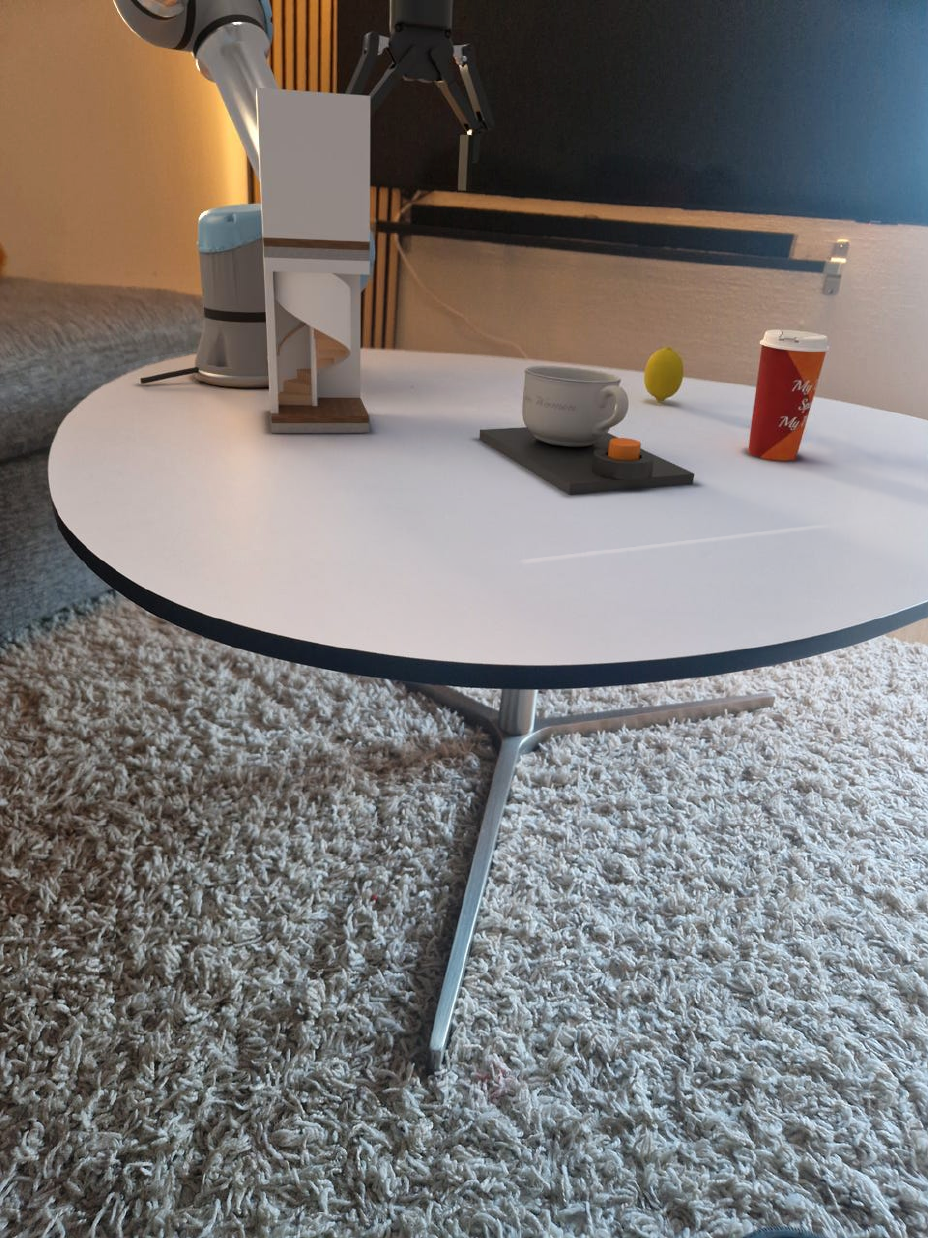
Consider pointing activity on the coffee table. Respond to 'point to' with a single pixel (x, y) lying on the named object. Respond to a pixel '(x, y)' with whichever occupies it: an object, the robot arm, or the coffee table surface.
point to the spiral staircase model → (314, 255)
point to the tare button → (624, 449)
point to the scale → (584, 463)
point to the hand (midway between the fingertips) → (416, 188)
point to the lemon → (663, 374)
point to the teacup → (571, 404)
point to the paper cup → (785, 391)
